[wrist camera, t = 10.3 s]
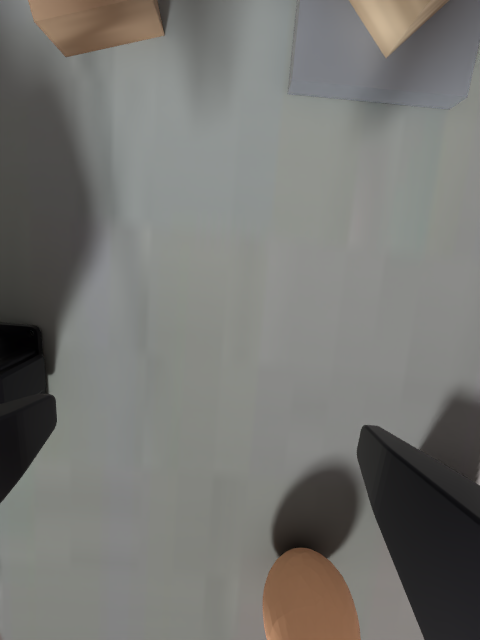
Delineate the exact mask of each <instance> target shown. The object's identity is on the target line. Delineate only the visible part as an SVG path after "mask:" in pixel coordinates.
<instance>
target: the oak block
mask: <svg viewBox="0 0 480 640" xmlns="http://www.w3.org/2000/svg"><path fill="white" fill-rule="evenodd" d="M349 1H350V3H351V5H352V6H353V8H354V9H355V11H356V12H357V14H358V16H359V17H360V19H361V20H362V22H363V23H364V25H365V27H366V28H367V30H368V31H369V33H370V34H371V36H372V38H373V39H374V41H375V42H376V44H377V45H378V47H379V49H380V50H381V52H382V53H383V55H384V56H385V58H387V57H388V56H389V55H390V54H391V53H392V52H394V51H395V50H396V49H397V48H398V47H399V46H400V45H401V44H402V43H403V42H404V41H406V40H407V39H408V38H409V37H410V36H411V35H412V34H413V33H414V32H415V31H416V30H418V29H419V28H420V27H421V26H422V25H423V24H424V23H425V22H426V21H427V20H428V19H430V18H431V17H432V16H433V15H434V14H435V13H436V12H437V11H438V10H439V9H440V8H442V7H443V6H444V5H445V4H446V3H447V2H448V1H449V0H349Z"/></svg>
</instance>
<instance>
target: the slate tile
mask: <svg viewBox="0 0 480 640" xmlns="http://www.w3.org/2000/svg"><path fill="white" fill-rule="evenodd" d="M479 42H480V0H449V1H448V2H447V3H446V4H445V5H444V6H443V7H442V8H440V9H439V10H438V11H437V12H436V13H435V14H434V15H433V16H432V17H431V18H430V19H428V20H427V21H426V22H425V23H424V24H423V25H422V26H421V27H420V28H419V29H418V30H416V31H415V32H414V33H413V34H412V35H411V36H410V37H409V38H408V39H407V40H406V41H404V42H403V43H402V44H401V45H400V46H399V47H398V48H397V49H396V50H395V51H394V52H392V53H391V54H390V55H389V56H388V57H387V58H385V56H384V55H383V53H382V52H381V50H380V49H379V47H378V45H377V44H376V42H375V41H374V39H373V38H372V36H371V34H370V33H369V31H368V30H367V28H366V27H365V25H364V23H363V22H362V20H361V19H360V17H359V16H358V14H357V12H356V11H355V9H354V8H353V6H352V5H351V3H350V1H349V0H297V6H296V16H295V26H294V36H293V46H292V55H291V65H290V75H289V85H288V94H294V95H304V96H315V97H325V98H336V99H346V100H357V101H367V102H378V103H388V104H399V105H409V106H420V107H430V108H441V109H450V108H452V107H453V106H455V105H456V104H458V103H459V102H461V101H462V100H464V99H465V98H467V96H468V92H469V87H470V83H471V78H472V74H473V69H474V65H475V60H476V56H477V51H478V46H479Z"/></svg>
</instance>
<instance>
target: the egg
mask: <svg viewBox="0 0 480 640" xmlns="http://www.w3.org/2000/svg"><path fill="white" fill-rule="evenodd" d="M263 617H264V628H265V633H266V638H267V640H360V628H359V622H358V616H357V612H356V609H355V605H354V602H353V599H352V596H351V594H350V591H349V588H348V586H347V584H346V582H345V581H344V579H343V577H342V575H341V574H340V573H339V571H338V570H337V569H336V568H335V566H334V565H333V564H332V563H331V562H330V561H329V560H328V559H327V558H325V557H324V556H323V555H321V554H320V553H318V552H316V551H314V550H311V549H308V548H293V549H291V550H289V551H286V552H285V553H284V554H283V555H281V556H280V557H279V558H278V559H277V560H276V562H275V563H274V565H273V566H272V568H271V570H270V571H269V574H268V577H267V580H266V583H265V587H264V593H263Z"/></svg>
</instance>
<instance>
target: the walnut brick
mask: <svg viewBox="0 0 480 640" xmlns="http://www.w3.org/2000/svg"><path fill="white" fill-rule="evenodd" d="M28 2H29V5H30V9H31V12H32V16H33V19H34V22H35V23H36V24H37V25H38V26H39V28H40V29H41V30H42V31H43V32H44V33H45V34H46V35H47V37H48V38H49V39H50V40H51V41H52V42H53V43H54V44H55V46H56V47H57V48H58V49H59V50H60V51H61V52H62V53H63V55H64V56H65V57H69V56H74V55H78V54H83V53H87V52H92V51H96V50H101V49H105V48H110V47H114V46H119V45H123V44H128V43H132V42H137V41H142V40H146V39H151V38H155V37H160V36H164V30H163V25H162V21H161V16H160V11H159V6H158V1H157V0H28Z"/></svg>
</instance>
